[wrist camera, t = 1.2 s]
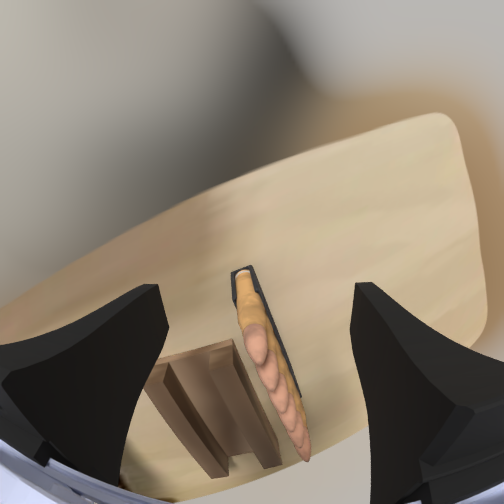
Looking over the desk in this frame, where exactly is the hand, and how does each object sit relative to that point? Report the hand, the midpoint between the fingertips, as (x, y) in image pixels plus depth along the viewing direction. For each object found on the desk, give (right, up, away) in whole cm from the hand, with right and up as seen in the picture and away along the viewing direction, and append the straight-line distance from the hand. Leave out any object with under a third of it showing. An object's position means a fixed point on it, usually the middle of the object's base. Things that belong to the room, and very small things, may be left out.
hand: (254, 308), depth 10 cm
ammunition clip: (+1, -4, +15) cm, 15 cm away
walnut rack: (-3, -14, +17) cm, 22 cm away
